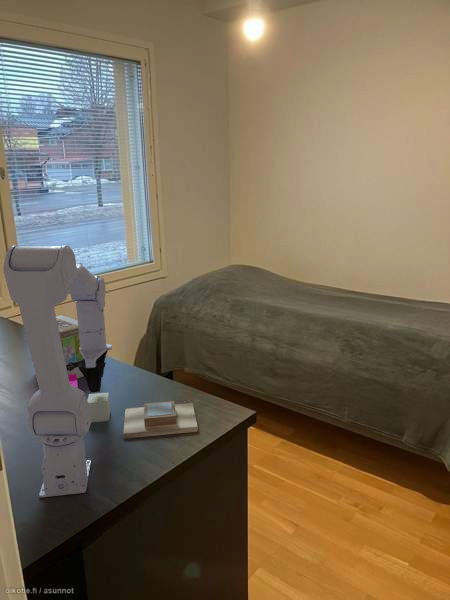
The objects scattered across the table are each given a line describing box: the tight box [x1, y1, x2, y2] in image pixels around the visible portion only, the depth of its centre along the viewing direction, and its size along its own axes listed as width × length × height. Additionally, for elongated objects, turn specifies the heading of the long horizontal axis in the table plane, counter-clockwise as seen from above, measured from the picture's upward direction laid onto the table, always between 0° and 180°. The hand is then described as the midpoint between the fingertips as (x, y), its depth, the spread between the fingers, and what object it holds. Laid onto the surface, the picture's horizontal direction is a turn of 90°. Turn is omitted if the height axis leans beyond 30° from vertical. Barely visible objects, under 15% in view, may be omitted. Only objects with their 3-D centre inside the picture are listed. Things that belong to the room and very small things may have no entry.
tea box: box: [56, 314, 85, 380], centre depth 133 cm, size 15×10×15 cm, turn 49°
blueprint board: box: [122, 400, 199, 439], centre depth 107 cm, size 11×16×3 cm
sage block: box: [87, 392, 111, 423], centre depth 110 cm, size 4×4×5 cm
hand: (96, 384), depth 108 cm, fingers open, 7 cm apart
